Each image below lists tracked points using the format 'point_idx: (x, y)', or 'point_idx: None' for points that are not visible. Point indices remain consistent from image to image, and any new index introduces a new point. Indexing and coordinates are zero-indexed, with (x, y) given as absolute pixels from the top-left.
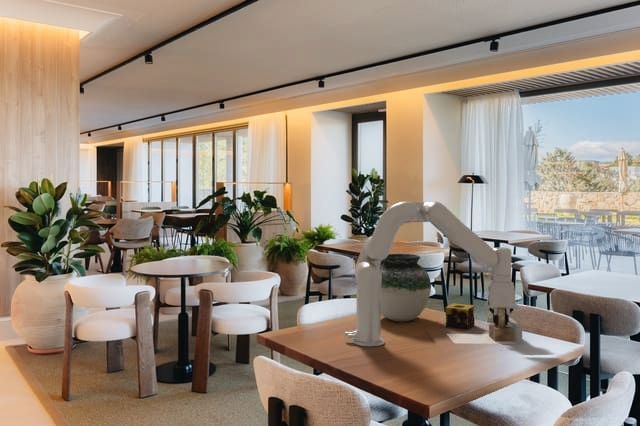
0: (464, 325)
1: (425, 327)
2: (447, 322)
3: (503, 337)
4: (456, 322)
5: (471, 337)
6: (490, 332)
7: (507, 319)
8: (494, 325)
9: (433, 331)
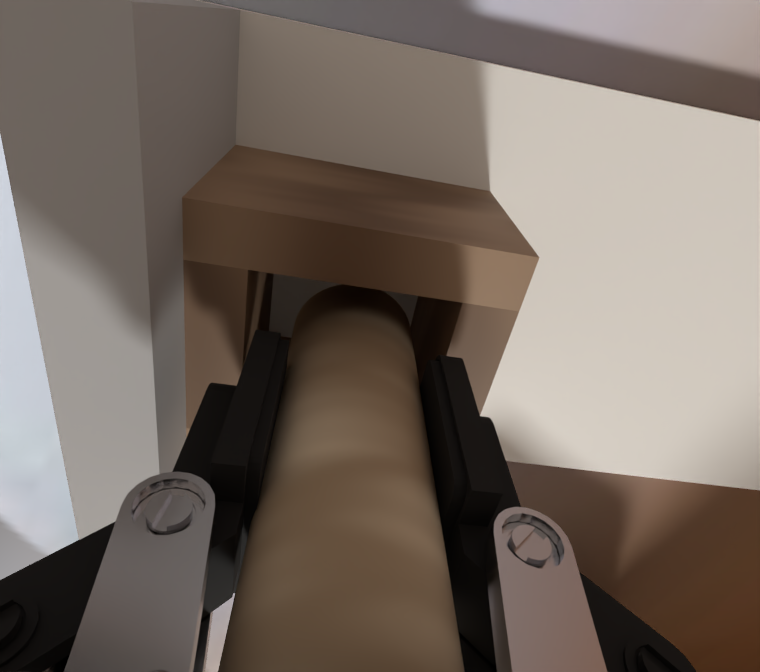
0: None
1: (709, 645)
2: None
3: (378, 185)
4: None
5: (642, 368)
6: None
7: (239, 393)
8: None
9: (738, 578)
